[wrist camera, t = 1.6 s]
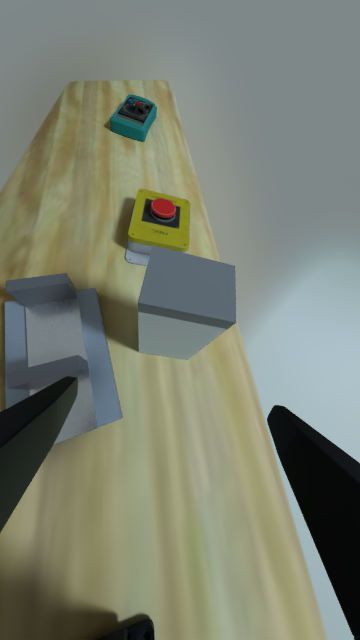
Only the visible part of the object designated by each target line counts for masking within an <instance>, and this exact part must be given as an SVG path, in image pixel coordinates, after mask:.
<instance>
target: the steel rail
mask: <svg viewBox="0 0 360 640" xmlns="http://www.w3.org/2000/svg"><path fill="white" fill-rule="evenodd" d="M76 293H77V290H76ZM25 308H26V328H27V349H28V367H32V366H36V365H40V364H44V363H48V362H52V361H55V360H59V359H63V358H67V357H71V356H75V355H79V356H81V357H82V358H84V359H85V360H87V362H88V356H87V350H86V344H85V338H84V331H83V325H82V319H81V313H80V307H79V300H78V294H77V298H75V299H69V300H63V301H57V302H51V303H45V304H39V305H33V306H27V307H25ZM88 368H89V363H88ZM76 377H77V378H78V393H77V397H76V400H75V402H74V404H73V406H72V408H71V410H70V412H69V414H68V416H67V419H66V421H65V423H64V425H63V427H62V429H61V431H60V433H59V435H58V437H57V439H56V441H55V442H54V444H57V443H60V442H62V441H65V440H67V439H70V438H73V437H75V436H78V435H80V434H83V433H86V432H88V431H91V430H93V429H96V428H98V427H99V425H98V419H97V412H96V406H95V400H94V394H93V387H92V381H91V375H90V369H89V373H86V374H83V375H79V376H76ZM52 384H53V383H52ZM49 385H51V384H48V385H45V386H41V387H38V388H35V389H31V390H30V396H31V395H33V394H34V393H36V392H38V391H40V390H42V389H44V388H45V387H47V386H49ZM54 444H53V445H54Z"/></svg>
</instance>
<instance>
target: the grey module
mask: <svg viewBox="0 0 360 640" xmlns="http://www.w3.org/2000/svg"><path fill="white" fill-rule="evenodd" d="M235 292H236V290H235V266H233V265H229V264H225V263H221V262H217V261H213V260H209V259H205V258H201V257H197V256H193V255H189V254H186V253H182V252H178V251H174V250H170V249H166V248H162V247H158V246H154V245H152V249H151V253H150V257H149V261H148V265H147V269H146V273H145V277H144V281H143V284H142V288H141V292H140V296H139V300H138V330H139V352H140V353H146V354H152V355H158V356H164V357H170V358H176V359H182V360H188V359H189V358H191V357H192V356H193V355H195V354H196V353H197V352H198V351H200V350H201V349H202V348H204V347H205V346H206V345H208V344H209V343H210V342H211V341H213V340H214V339H215V338H217V337H218V336H219V335H221V334H222V333H223V332H224V331H226V330H227V329H228V328H230V327H231V326H232V325H233V324H235V323H236V296H235V295H236V294H235Z"/></svg>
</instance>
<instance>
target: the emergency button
mask: <svg viewBox="0 0 360 640" xmlns="http://www.w3.org/2000/svg"><path fill="white" fill-rule="evenodd" d="M189 231H190V202H189V201H188V200H186V199H182V198H178V197H174V196H170V195H166V194H162V193H158V192H154V191H150V190H146V189H139V190H138V192H137V197H136V201H135V205H134V210H133V214H132V218H131V223H130V227H129V231H128V247H127V251H126V260H127V262H129V263H131V264H137V265H143V266H147V265H148V261H149V257H150V253H151V249H152V245H154V246H158V247H162V248H166V249H170V250H174V251H178V252H182V253H186V254H187V251H188V248H189Z"/></svg>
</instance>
